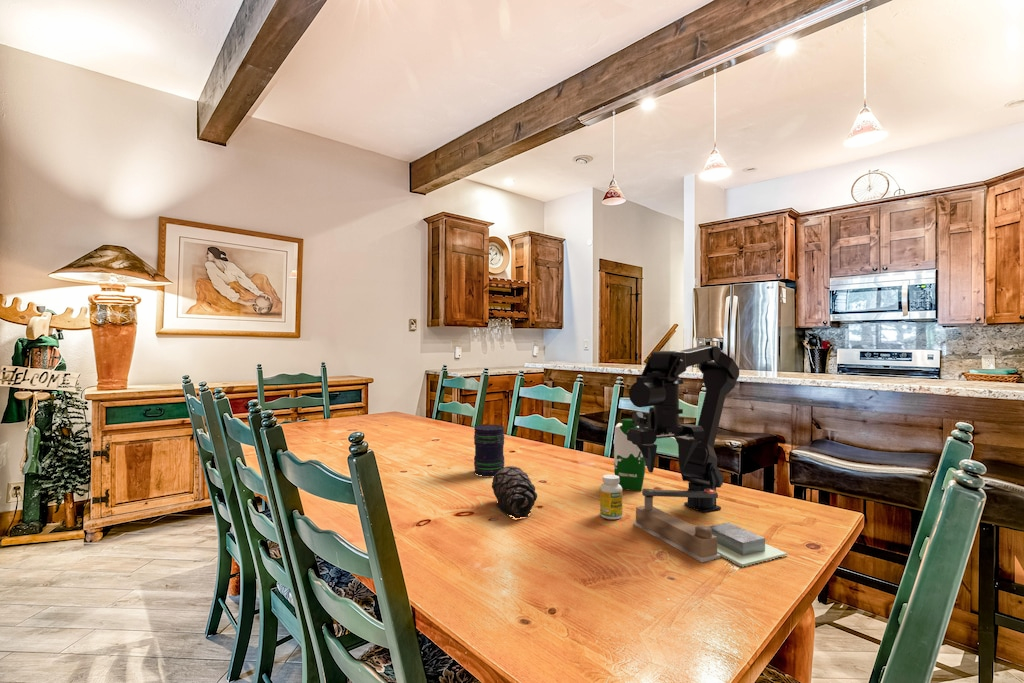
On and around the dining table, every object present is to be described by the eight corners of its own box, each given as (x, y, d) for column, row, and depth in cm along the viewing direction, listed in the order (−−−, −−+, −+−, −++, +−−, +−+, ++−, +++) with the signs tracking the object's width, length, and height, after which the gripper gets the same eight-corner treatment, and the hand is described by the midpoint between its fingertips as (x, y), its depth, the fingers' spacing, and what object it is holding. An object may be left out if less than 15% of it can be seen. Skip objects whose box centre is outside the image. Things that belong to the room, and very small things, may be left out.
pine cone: (511, 524, 110) (511, 481, 110) (486, 501, 126) (486, 463, 127) (551, 518, 114) (551, 476, 114) (521, 496, 130) (521, 460, 130)
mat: (729, 530, 106) (729, 527, 106) (787, 556, 93) (787, 553, 93) (687, 539, 101) (687, 536, 101) (742, 567, 88) (742, 564, 88)
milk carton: (612, 489, 136) (612, 419, 136) (616, 481, 145) (616, 415, 145) (644, 492, 133) (644, 421, 134) (646, 483, 142) (646, 416, 142)
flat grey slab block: (728, 534, 102) (728, 522, 102) (765, 550, 94) (765, 538, 94) (707, 538, 100) (707, 526, 100) (743, 555, 92) (742, 542, 92)
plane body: (633, 524, 110) (633, 494, 110) (650, 521, 112) (649, 492, 112) (701, 562, 90) (701, 526, 90) (720, 558, 92) (720, 523, 92)
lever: (643, 496, 107) (643, 490, 107) (641, 492, 110) (641, 486, 110) (718, 499, 105) (718, 492, 105) (714, 495, 108) (714, 488, 108)
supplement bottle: (611, 510, 119) (611, 472, 119) (627, 517, 114) (627, 477, 114) (595, 514, 116) (595, 475, 116) (611, 521, 111) (611, 480, 111)
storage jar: (470, 476, 150) (470, 429, 150) (477, 468, 160) (477, 424, 160) (501, 478, 148) (501, 430, 148) (506, 469, 158) (506, 425, 158)
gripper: (673, 398, 123) (673, 459, 123) (613, 402, 116) (613, 466, 115) (706, 403, 113) (706, 469, 112) (642, 407, 105) (642, 477, 105)
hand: (666, 470), depth 112 cm, fingers open, 9 cm apart
